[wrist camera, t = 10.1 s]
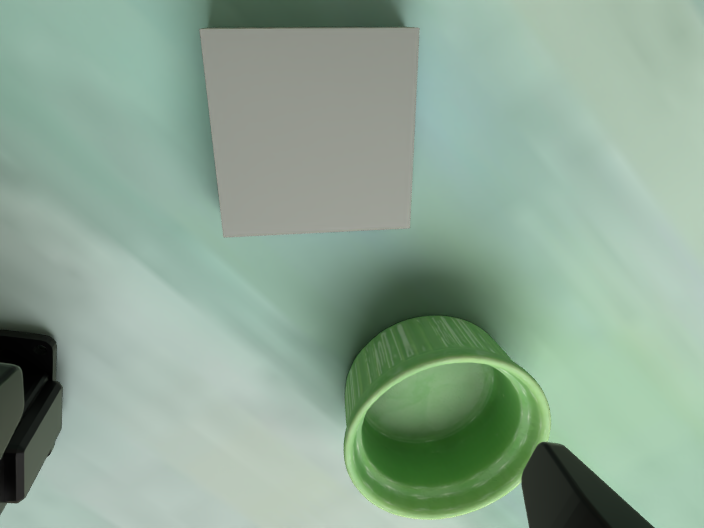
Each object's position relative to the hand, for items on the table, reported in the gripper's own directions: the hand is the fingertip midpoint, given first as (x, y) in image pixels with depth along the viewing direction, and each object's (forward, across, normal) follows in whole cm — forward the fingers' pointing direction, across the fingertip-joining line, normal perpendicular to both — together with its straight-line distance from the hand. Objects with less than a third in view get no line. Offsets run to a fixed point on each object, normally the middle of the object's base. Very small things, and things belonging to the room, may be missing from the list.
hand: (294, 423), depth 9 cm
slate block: (+14, 0, -2) cm, 14 cm away
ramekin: (+14, -8, +9) cm, 18 cm away
